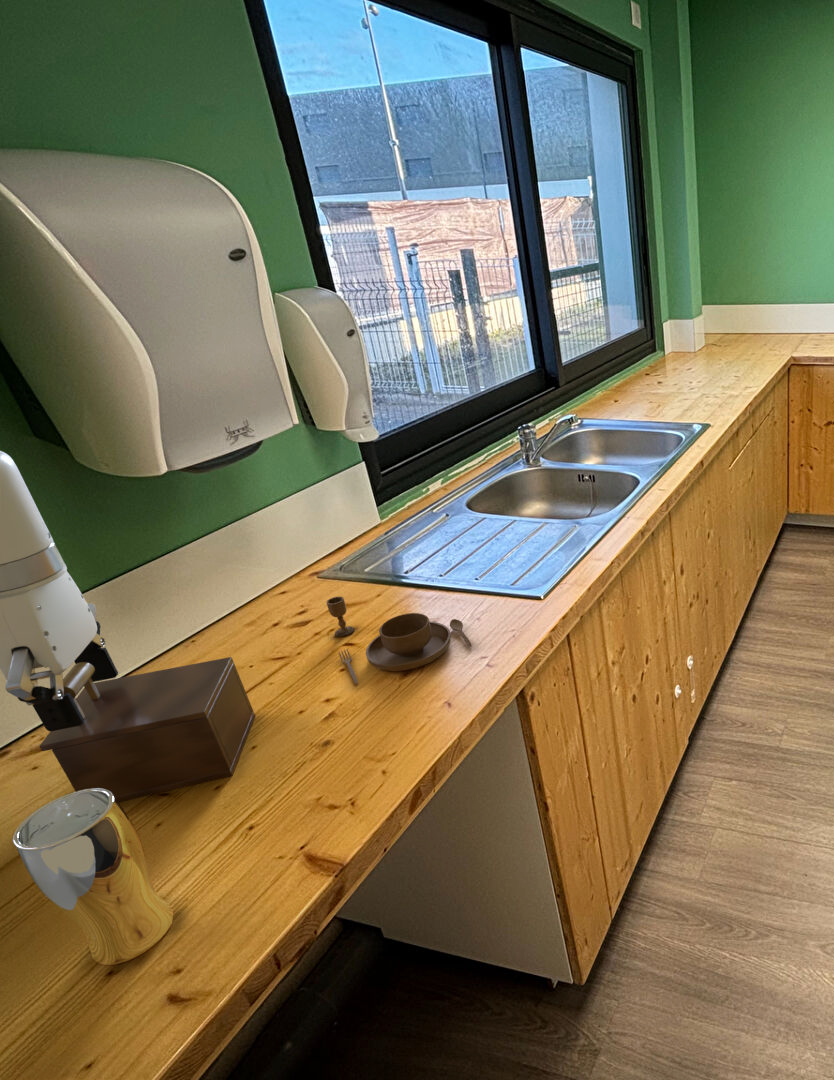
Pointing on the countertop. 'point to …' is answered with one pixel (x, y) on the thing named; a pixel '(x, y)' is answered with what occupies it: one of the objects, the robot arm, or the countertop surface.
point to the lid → (138, 700)
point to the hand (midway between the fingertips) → (85, 701)
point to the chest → (165, 750)
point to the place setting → (400, 640)
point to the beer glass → (95, 872)
